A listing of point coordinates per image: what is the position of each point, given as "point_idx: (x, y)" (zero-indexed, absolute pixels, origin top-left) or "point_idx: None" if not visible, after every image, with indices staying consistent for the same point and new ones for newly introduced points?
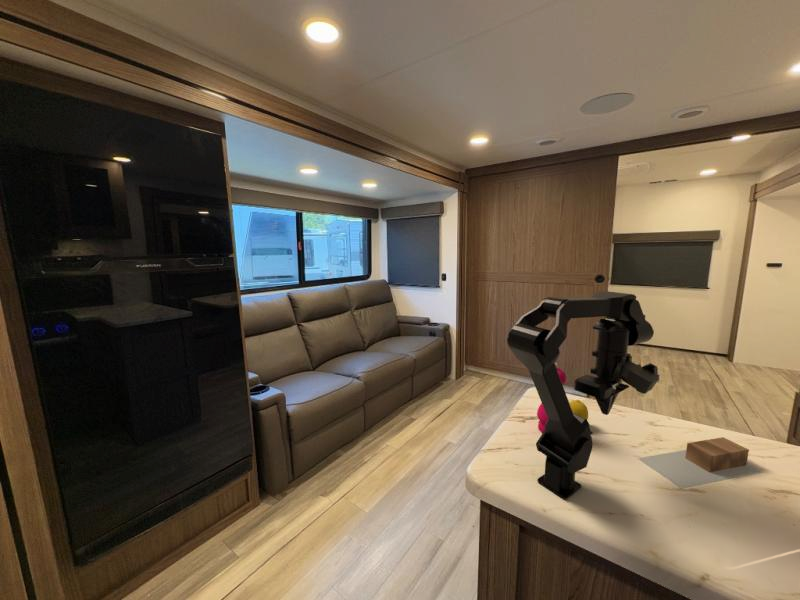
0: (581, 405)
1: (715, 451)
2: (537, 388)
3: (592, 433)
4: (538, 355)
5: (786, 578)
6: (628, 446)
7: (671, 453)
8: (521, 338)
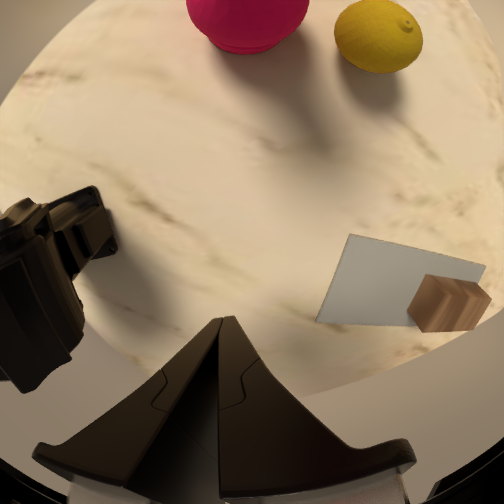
0: (397, 44)
1: (442, 324)
2: None
3: (70, 359)
4: None
5: None
6: (388, 190)
7: (426, 254)
8: None
